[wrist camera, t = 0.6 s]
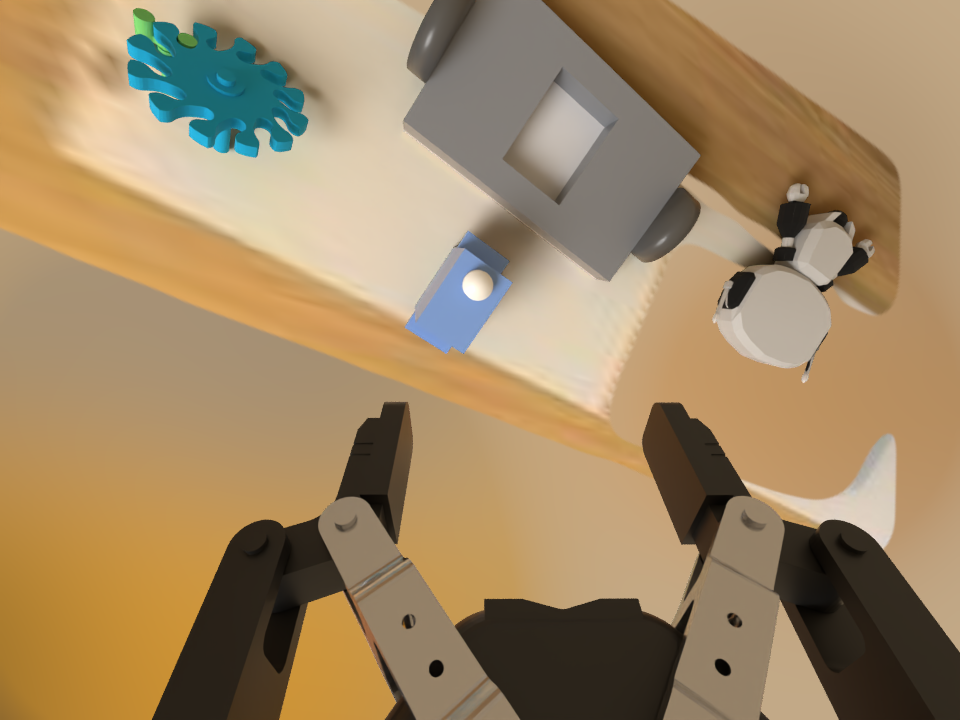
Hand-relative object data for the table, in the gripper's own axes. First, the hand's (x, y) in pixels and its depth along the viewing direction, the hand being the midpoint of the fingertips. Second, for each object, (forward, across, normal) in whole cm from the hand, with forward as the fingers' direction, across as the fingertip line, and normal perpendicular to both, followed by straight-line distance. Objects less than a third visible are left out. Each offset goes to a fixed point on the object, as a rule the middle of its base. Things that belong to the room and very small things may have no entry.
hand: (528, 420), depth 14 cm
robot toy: (+28, -27, +8) cm, 39 cm away
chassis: (+28, -4, -4) cm, 29 cm away
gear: (+26, +19, -7) cm, 33 cm away
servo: (+23, +4, +7) cm, 24 cm away
